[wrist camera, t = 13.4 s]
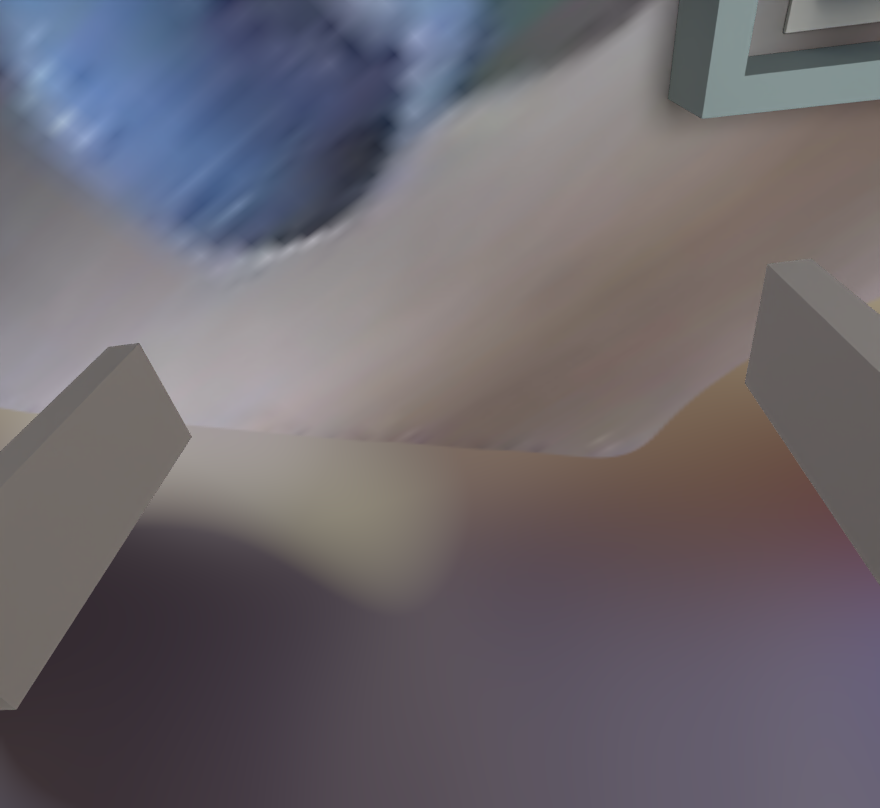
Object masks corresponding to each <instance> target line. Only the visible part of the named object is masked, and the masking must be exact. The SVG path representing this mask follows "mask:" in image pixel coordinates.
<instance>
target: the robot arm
mask: <svg viewBox="0 0 880 808" xmlns="http://www.w3.org/2000/svg"><path fill="white" fill-rule="evenodd" d="M745 384H746V385H747V387H748V389H749V390H750V392H751V393H752V394H753V396H754V398H755V399H756V400H757V402H758V404H759V405H760V407H761V408H762V410H763V411H764V413H765V414H766V415H767V417H768V419H769V420H770V421H771V423H772V425H773V426H774V427H775V429H776V431H777V432H778V434H779V435H780V437H781V438H782V440H783V441H784V443H785V444H786V446H787V447H788V449H789V450H790V452H791V453H792V454H793V456H794V457H795V459H796V461H797V462H798V464H799V465H800V467H801V468H802V470H803V471H804V472H805V474H806V476H807V477H808V479H809V480H810V482H811V483H812V485H813V486H814V487H815V489H816V490H817V492H818V493H819V495H820V497H821V498H822V500H823V501H824V502H825V504H826V505H827V507H828V509H829V510H830V512H831V513H832V515H833V516H834V518H835V519H836V521H837V522H838V524H839V525H840V526H841V528H842V530H843V531H844V532H845V534H846V536H847V537H848V539H849V540H850V541H851V543H852V545H853V546H854V548H855V549H856V550H857V552H858V553H859V555H860V557H861V558H862V559H863V561H864V563H865V564H866V566H867V567H868V568H869V570H870V572H871V573H872V575H873V576H874V577H875V579H876V580H877V582H878V583H879V585H880V315H879V314H878V313H877V312H876V311H875V310H873V309H872V308H871V307H869V306H868V305H867V304H866V303H865V302H864V301H862V300H861V299H860V298H859V297H857V296H856V295H855V294H854V293H853V292H851V291H850V290H849V289H848V288H847V287H845V286H844V285H843V284H842V283H840V282H839V281H838V280H837V279H836V278H834V277H833V276H832V275H831V274H829V273H828V272H827V271H826V270H825V269H823V268H822V267H821V266H820V265H819V264H817V263H816V262H815V261H814V260H812V259H803V260H796V261H788V262H780V263H772V264H767V269H766V274H765V279H764V285H763V290H762V295H761V301H760V306H759V311H758V316H757V322H756V327H755V332H754V338H753V343H752V348H751V353H750V359H749V365H748V369H747V375H746V380H745ZM191 437H192V436H191V435H190V433H189V431H188V429H187V428H186V426H185V424H184V422H183V420H182V418H181V417H180V415H179V413H178V411H177V410H176V408H175V406H174V404H173V402H172V401H171V399H170V397H169V395H168V394H167V392H166V390H165V388H164V386H163V385H162V383H161V381H160V379H159V378H158V376H157V374H156V372H155V370H154V369H153V367H152V365H151V363H150V361H149V360H148V358H147V356H146V354H145V353H144V351H143V349H142V347H141V345H140V344H139V343H137V344H129V345H121V346H113V347H108V348H107V349H106V350H105V351H104V352H103V353H102V354H101V355H100V356H99V357H98V358H97V359H96V360H95V361H94V362H92V363H91V364H90V365H89V366H88V367H87V368H86V369H85V370H84V371H83V372H82V373H81V374H80V375H79V376H78V377H77V378H76V379H75V380H74V381H73V382H72V383H71V384H70V385H69V386H68V387H67V388H66V389H64V390H63V391H62V392H61V393H60V394H59V395H58V396H57V397H56V398H55V399H54V400H53V401H52V402H51V403H50V404H49V405H48V406H47V407H46V408H45V409H44V410H43V411H42V412H41V413H40V414H39V415H38V416H37V417H35V419H33V420H32V421H31V422H30V423H29V425H27V426H26V427H25V428H24V429H23V430H22V431H21V432H20V433H19V434H18V435H17V436H16V437H15V438H14V439H13V440H12V441H11V442H10V443H9V444H7V446H5V447H4V448H3V449H2V450H1V451H0V710H16V709H17V708H18V706H19V704H20V703H21V701H22V700H23V698H24V697H25V695H26V694H27V692H28V691H29V689H30V687H31V686H32V684H33V683H34V681H35V680H36V678H37V677H38V675H39V673H40V672H41V670H42V669H43V667H44V666H45V664H46V663H47V661H48V659H49V658H50V656H51V655H52V653H53V651H54V650H55V649H56V647H57V645H58V644H59V642H60V641H61V639H62V638H63V636H64V635H65V633H66V631H67V630H68V628H69V627H70V625H71V624H72V622H73V620H74V619H75V618H76V616H77V614H78V613H79V611H80V610H81V608H82V607H83V605H84V603H85V602H86V600H87V599H88V597H89V596H90V594H91V593H92V591H93V590H94V588H95V586H96V585H97V583H98V582H99V580H100V579H101V577H102V576H103V574H104V572H105V571H106V569H107V568H108V566H109V565H110V563H111V562H112V560H113V558H114V556H115V555H116V554H117V552H118V551H119V549H120V547H121V546H122V544H123V543H124V541H125V540H126V538H127V537H128V535H129V533H130V532H131V531H132V529H133V527H134V526H135V524H136V523H137V521H138V520H139V518H140V517H141V515H142V513H143V512H144V510H145V509H146V507H147V506H148V504H149V503H150V501H151V499H152V498H153V496H154V495H155V493H156V492H157V490H158V488H159V487H160V485H161V484H162V482H163V481H164V479H165V478H166V476H167V475H168V473H169V472H170V470H171V468H172V467H173V465H174V464H175V462H176V461H177V459H178V457H179V456H180V454H181V453H182V451H183V450H184V448H185V447H186V445H187V443H188V442H189V440H190V439H191Z"/></svg>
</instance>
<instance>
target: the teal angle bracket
mask: <svg viewBox="0 0 880 808" xmlns="http://www.w3.org/2000/svg"><path fill="white" fill-rule="evenodd" d="M757 5H758V0H679V8H678V17H677V26H676V34H675V43H674V52H673V60H672V69H671V78H670V87H669V95H668V99H669V100H671V101H673V102H674V103H676V104H678V105H679V106H681V107H683V108H685V109H686V110H688V111H690V112H691V113H693V114H695V115H696V116H698V117H700V118H702V119H704V118H713V117H722V116H731V115H741V114H750V113H759V112H768V111H777V110H786V109H795V108H805V107H814V106H823V105H832V104H841V103H850V102H859V101H868V100H878V99H880V41H874V42H866V43H858V44H849V45H841V46H833V47H824V48H816V49H808V50H799V51H791V52H783V53H775V54H766V55H758V56H750V57H748V54H749V48H750V43H751V38H752V32H753V27H754V21H755V16H756V10H757Z"/></svg>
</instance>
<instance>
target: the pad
mask: <svg viewBox="0 0 880 808" xmlns="http://www.w3.org/2000/svg"><path fill="white" fill-rule="evenodd" d="M872 22H880V0H790V2H789V7H788V12H787V17H786V21H785V26H784V31H783V33H792V32H800V31H808V30H816V29H824V28H832V27H840V26H848V25H856V24H864V23H872Z"/></svg>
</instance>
